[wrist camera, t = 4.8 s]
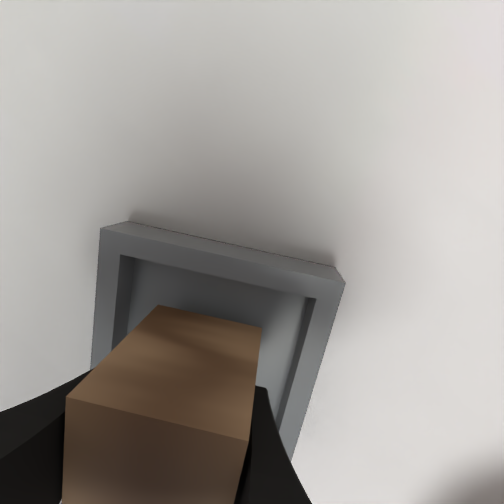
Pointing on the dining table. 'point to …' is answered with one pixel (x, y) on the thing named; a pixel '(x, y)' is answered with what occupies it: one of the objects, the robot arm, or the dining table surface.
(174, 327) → the walnut block
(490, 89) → the dining table surface
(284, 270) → the tray
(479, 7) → the dining table surface
